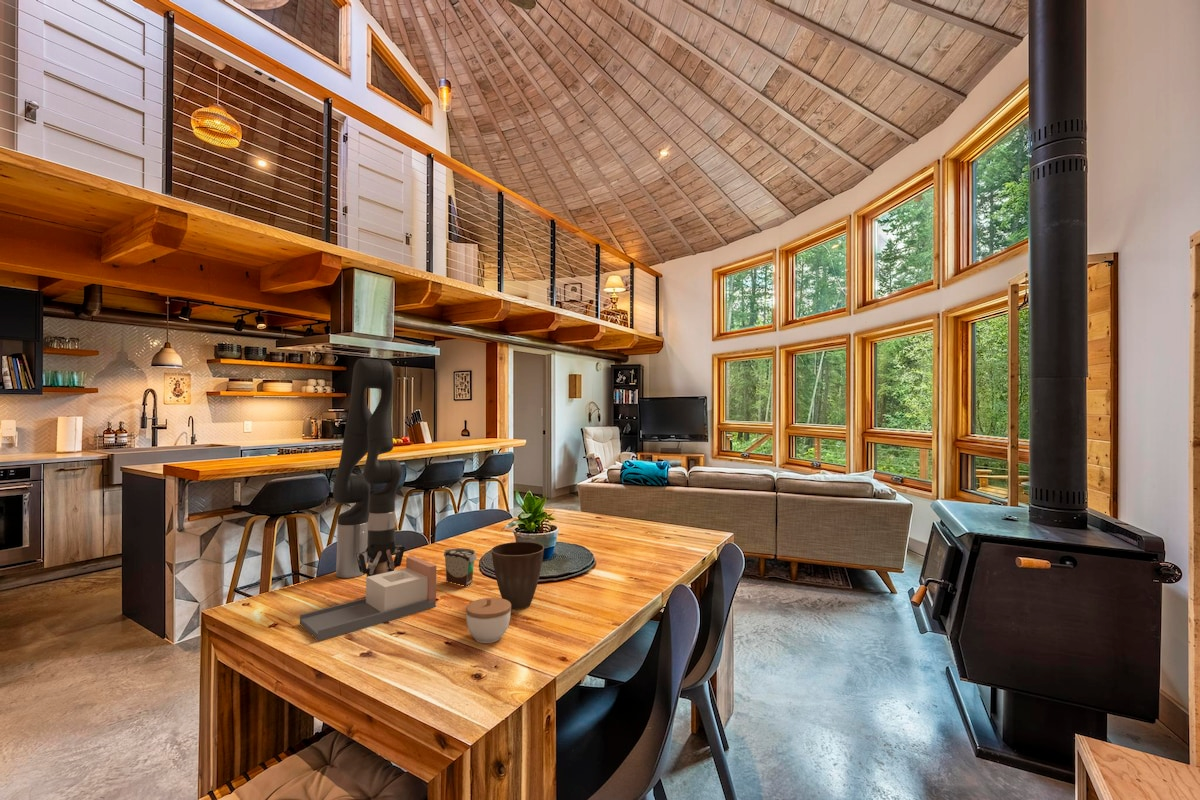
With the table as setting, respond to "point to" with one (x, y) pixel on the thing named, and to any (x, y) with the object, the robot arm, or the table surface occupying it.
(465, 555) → the food container
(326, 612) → the track
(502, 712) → the table surface
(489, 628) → the lidded jar
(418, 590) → the socket block
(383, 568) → the dowel
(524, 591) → the plant pot
